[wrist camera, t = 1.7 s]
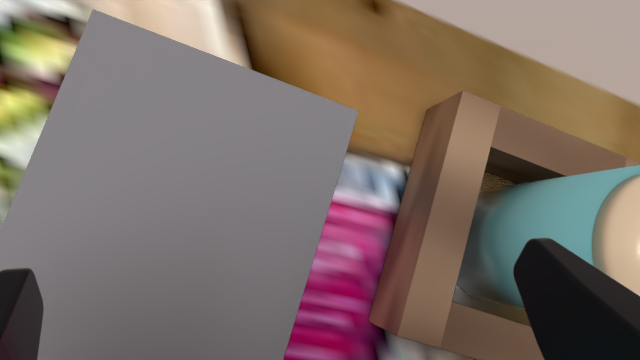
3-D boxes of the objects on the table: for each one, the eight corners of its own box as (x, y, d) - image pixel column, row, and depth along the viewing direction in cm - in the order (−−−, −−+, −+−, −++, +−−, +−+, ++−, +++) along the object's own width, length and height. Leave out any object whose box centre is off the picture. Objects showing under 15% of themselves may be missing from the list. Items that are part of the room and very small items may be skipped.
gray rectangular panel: (97, 19, 22) (93, 9, 21) (352, 116, 24) (358, 110, 23) (-105, 507, 18) (-122, 522, 17) (214, 565, 21) (215, 581, 20)
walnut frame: (560, 378, 25) (616, 400, 22) (368, 321, 23) (397, 336, 20) (601, 178, 27) (659, 171, 24) (426, 109, 25) (463, 90, 22)
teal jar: (559, 267, 26) (775, 286, 16) (474, 323, 25) (657, 380, 15) (511, 170, 26) (699, 132, 16) (423, 220, 24) (573, 211, 15)
